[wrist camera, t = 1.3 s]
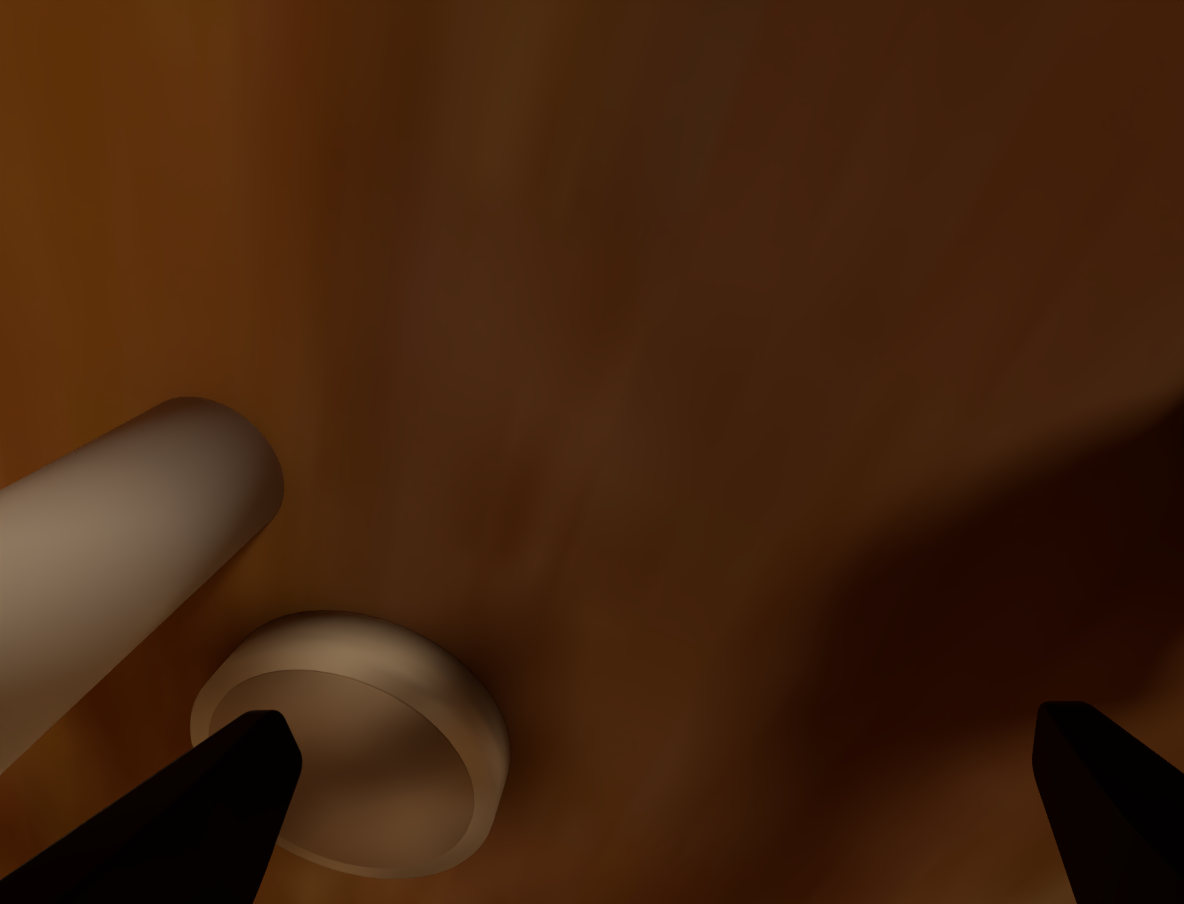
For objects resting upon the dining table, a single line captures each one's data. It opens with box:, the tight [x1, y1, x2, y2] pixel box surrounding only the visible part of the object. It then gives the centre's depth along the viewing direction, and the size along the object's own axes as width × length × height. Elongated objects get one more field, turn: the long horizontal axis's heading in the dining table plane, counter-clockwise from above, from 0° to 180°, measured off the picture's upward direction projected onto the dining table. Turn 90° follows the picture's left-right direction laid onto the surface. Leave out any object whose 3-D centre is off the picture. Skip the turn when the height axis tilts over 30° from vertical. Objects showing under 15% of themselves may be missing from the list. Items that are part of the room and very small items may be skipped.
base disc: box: [190, 610, 510, 879], centre depth 27 cm, size 12×12×2 cm
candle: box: [0, 397, 284, 775], centre depth 18 cm, size 5×5×14 cm
